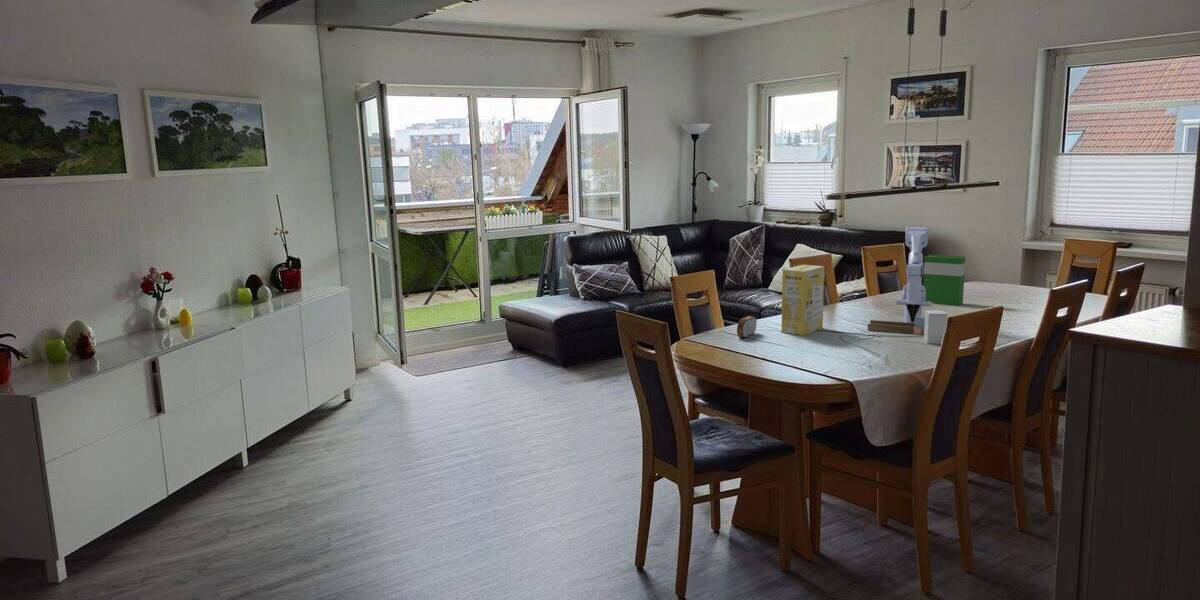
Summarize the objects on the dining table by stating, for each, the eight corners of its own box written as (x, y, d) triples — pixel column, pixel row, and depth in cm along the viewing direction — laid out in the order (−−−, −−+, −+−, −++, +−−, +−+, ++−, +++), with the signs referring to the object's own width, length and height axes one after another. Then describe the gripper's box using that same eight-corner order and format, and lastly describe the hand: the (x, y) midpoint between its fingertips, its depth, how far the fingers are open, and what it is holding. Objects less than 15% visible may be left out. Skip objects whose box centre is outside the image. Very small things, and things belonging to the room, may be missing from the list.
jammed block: (915, 329, 355) (916, 316, 354) (930, 330, 353) (930, 317, 351) (914, 332, 350) (915, 319, 349) (929, 333, 347) (930, 320, 346)
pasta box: (801, 324, 371) (802, 264, 366) (822, 327, 365) (824, 266, 359) (781, 332, 358) (782, 269, 353) (803, 335, 351) (804, 271, 346)
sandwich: (751, 332, 360) (751, 313, 358) (757, 333, 358) (757, 314, 356) (736, 339, 348) (736, 319, 346) (742, 339, 346) (743, 320, 344)
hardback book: (922, 302, 416) (924, 256, 411) (926, 300, 421) (929, 254, 417) (958, 306, 405) (961, 258, 400) (962, 303, 411) (965, 256, 406)
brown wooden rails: (870, 326, 365) (870, 320, 364) (922, 330, 355) (922, 323, 355) (867, 330, 356) (867, 324, 356) (921, 334, 347) (921, 327, 347)
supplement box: (946, 344, 330) (947, 313, 328) (926, 343, 332) (928, 313, 329) (942, 339, 337) (943, 310, 335) (923, 339, 339) (924, 309, 337)
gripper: (895, 291, 349) (894, 322, 352) (931, 293, 343) (929, 324, 346) (897, 289, 355) (895, 319, 358) (932, 290, 349) (931, 321, 352)
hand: (912, 321), depth 352 cm, fingers closed
